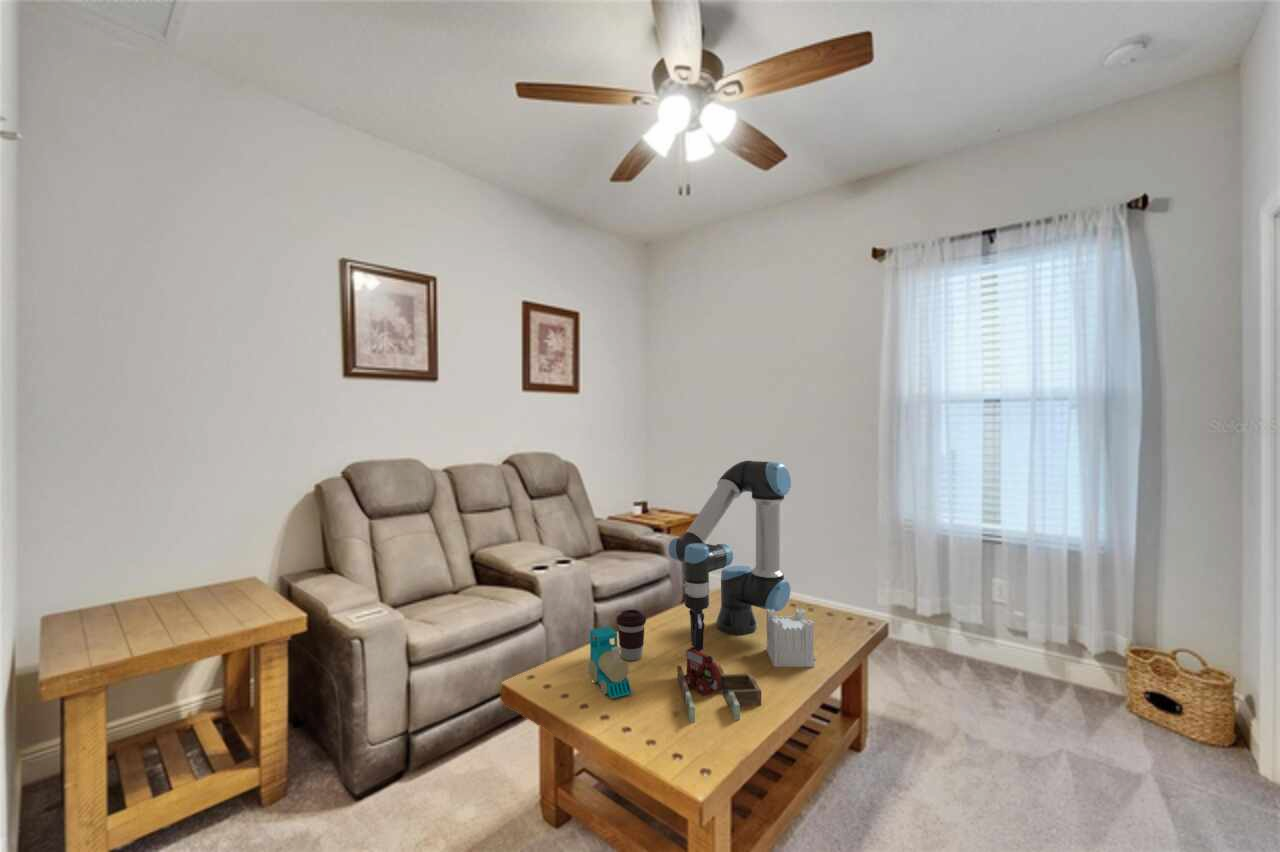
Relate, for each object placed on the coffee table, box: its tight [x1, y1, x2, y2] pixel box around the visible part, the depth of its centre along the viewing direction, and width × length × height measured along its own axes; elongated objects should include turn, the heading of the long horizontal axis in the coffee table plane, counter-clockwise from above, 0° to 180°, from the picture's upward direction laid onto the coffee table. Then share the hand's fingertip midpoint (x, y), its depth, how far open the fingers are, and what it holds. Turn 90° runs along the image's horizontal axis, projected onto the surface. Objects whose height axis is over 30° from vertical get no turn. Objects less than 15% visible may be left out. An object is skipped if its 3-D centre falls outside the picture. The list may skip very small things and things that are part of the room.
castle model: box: [765, 608, 817, 668], centre depth 182 cm, size 13×15×14 cm
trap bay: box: [721, 673, 762, 707], centre depth 158 cm, size 10×9×4 cm
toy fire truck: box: [684, 647, 721, 696], centre depth 163 cm, size 7×12×10 cm, turn 44°
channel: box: [676, 663, 741, 723], centre depth 157 cm, size 24×13×4 cm, turn 4°
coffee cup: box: [616, 609, 647, 662], centre depth 184 cm, size 10×10×15 cm
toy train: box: [588, 626, 633, 700], centre depth 164 cm, size 8×17×15 cm, turn 27°
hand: (696, 668), depth 171 cm, fingers closed
